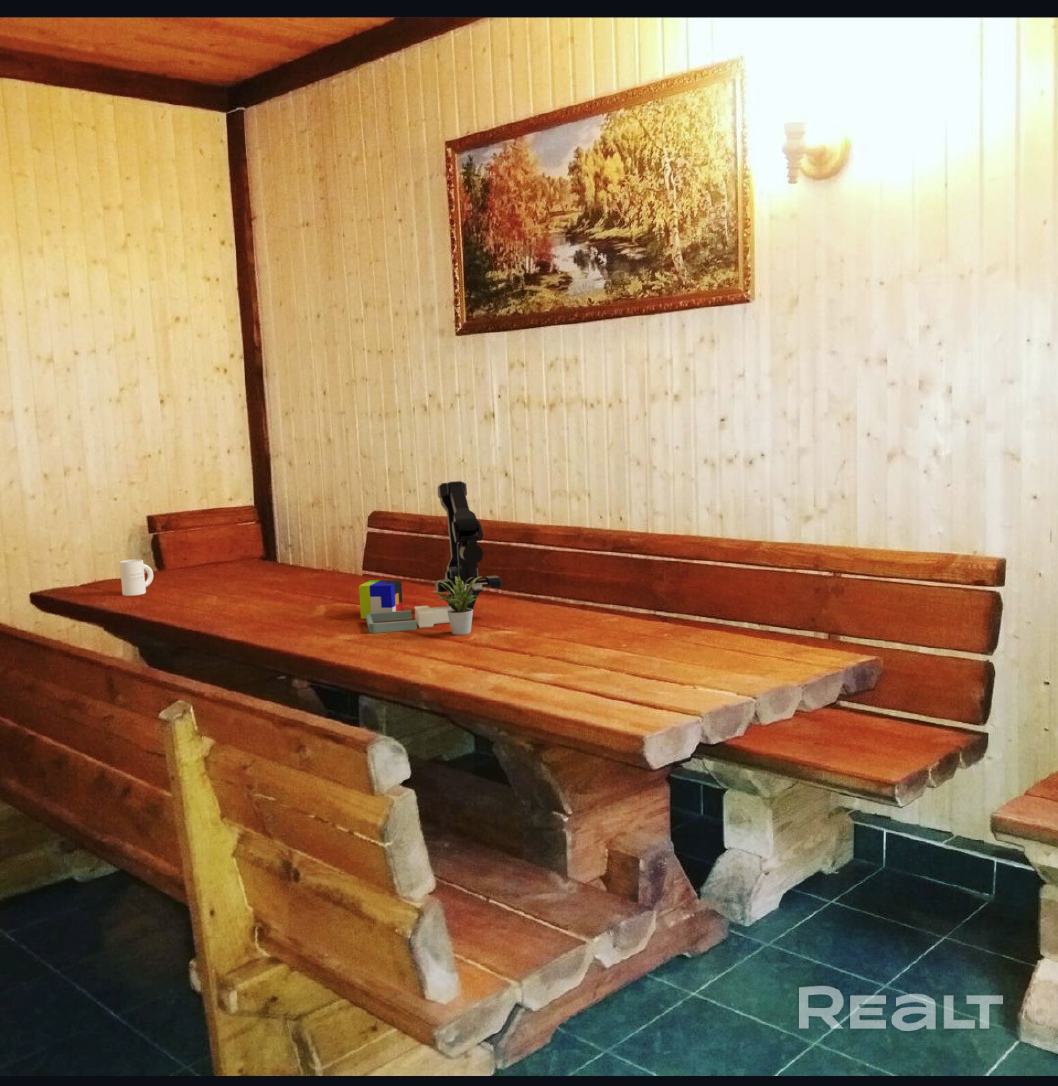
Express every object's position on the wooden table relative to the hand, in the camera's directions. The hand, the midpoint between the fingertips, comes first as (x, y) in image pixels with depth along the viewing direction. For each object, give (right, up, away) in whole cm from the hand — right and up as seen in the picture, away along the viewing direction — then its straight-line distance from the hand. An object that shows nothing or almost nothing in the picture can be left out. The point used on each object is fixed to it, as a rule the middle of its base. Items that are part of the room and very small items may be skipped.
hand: (470, 612), depth 324 cm
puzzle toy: (-27, -2, +13) cm, 30 cm away
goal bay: (-23, -3, -4) cm, 24 cm away
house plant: (-1, -4, -17) cm, 18 cm away
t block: (-11, -3, -2) cm, 12 cm away
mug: (-124, +2, +78) cm, 146 cm away
